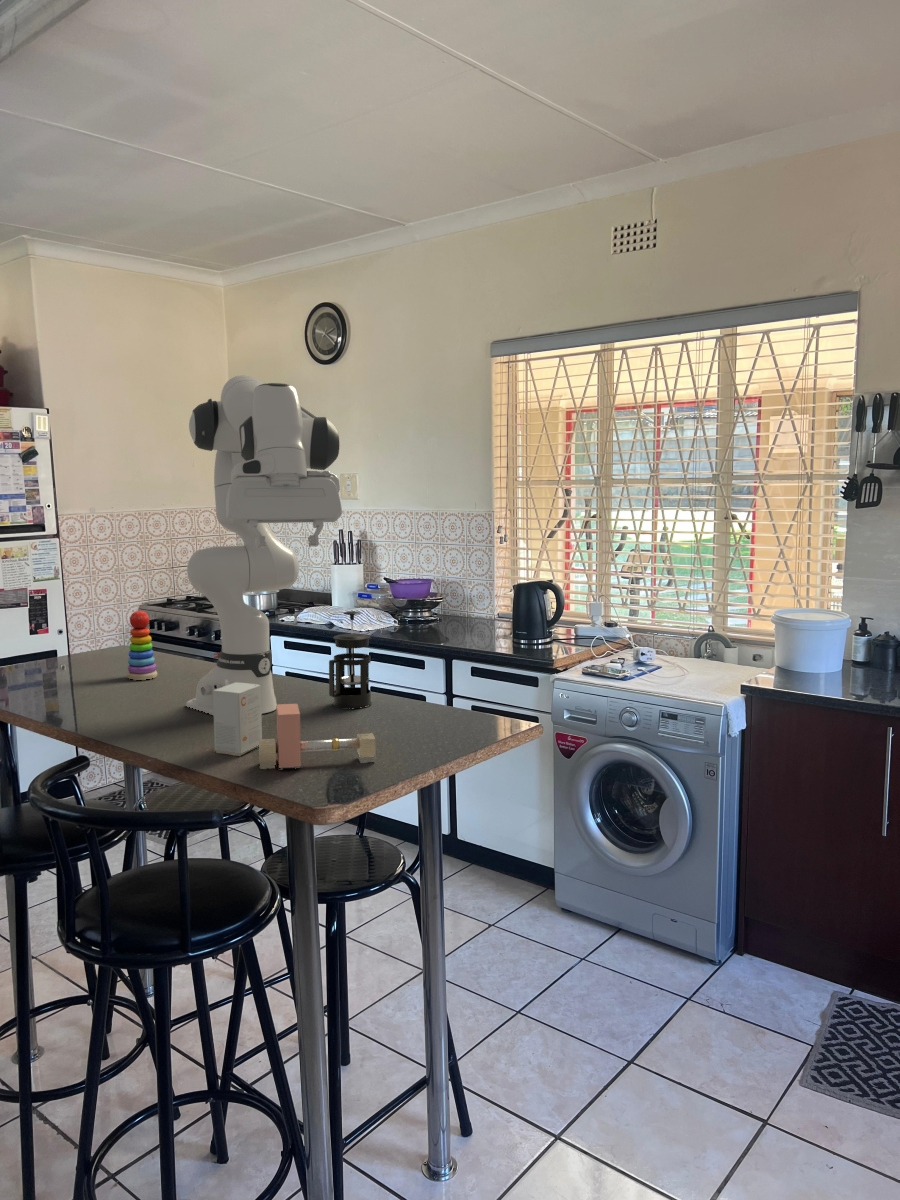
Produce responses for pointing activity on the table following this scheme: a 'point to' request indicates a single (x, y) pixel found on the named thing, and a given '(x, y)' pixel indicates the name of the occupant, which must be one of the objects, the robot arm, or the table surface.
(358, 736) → the pipe rig
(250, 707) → the small box
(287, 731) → the collar
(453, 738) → the table surface
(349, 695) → the french press
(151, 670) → the stacking toy
